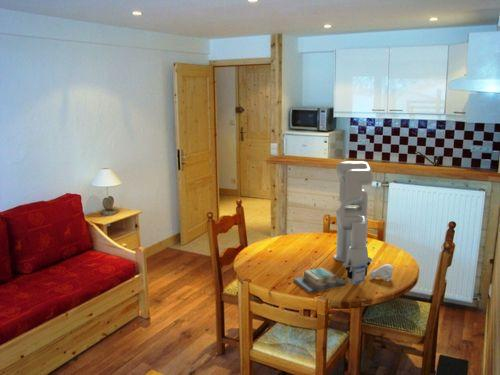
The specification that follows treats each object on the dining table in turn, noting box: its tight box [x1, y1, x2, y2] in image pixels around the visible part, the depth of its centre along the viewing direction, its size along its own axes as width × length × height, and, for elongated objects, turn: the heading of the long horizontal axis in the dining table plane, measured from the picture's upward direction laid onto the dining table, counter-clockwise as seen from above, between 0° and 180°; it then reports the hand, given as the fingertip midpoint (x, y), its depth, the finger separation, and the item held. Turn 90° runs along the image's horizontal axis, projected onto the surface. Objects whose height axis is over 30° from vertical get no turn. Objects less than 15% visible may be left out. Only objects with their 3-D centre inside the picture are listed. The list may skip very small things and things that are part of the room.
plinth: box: [293, 267, 347, 294], centre depth 240 cm, size 22×16×6 cm
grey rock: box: [369, 263, 394, 283], centre depth 244 cm, size 6×8×12 cm
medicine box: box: [348, 265, 366, 286], centre depth 234 cm, size 8×4×9 cm, turn 126°
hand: (356, 276), depth 234 cm, fingers closed on medicine box, 8 cm apart
